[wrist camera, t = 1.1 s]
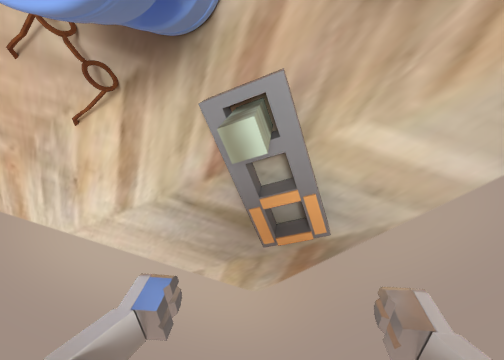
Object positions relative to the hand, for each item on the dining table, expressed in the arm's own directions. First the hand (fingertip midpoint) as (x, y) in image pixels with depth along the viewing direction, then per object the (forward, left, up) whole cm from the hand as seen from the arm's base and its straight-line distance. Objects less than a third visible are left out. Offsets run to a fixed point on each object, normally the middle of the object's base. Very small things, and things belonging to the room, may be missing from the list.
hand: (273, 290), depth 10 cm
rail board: (+4, +8, -31) cm, 32 cm away
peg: (+4, -1, -31) cm, 31 cm away
